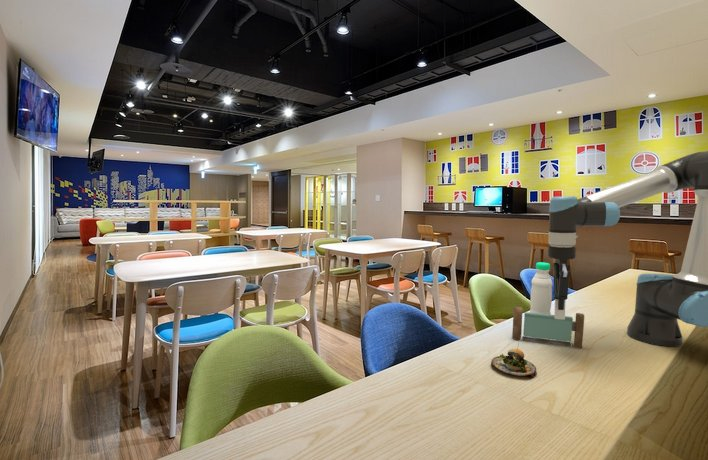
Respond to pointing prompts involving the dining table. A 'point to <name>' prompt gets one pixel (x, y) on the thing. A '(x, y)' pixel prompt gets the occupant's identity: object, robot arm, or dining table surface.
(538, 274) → the water bottle
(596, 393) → the dining table surface
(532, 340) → the gate frame
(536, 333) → the gate
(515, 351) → the burger
